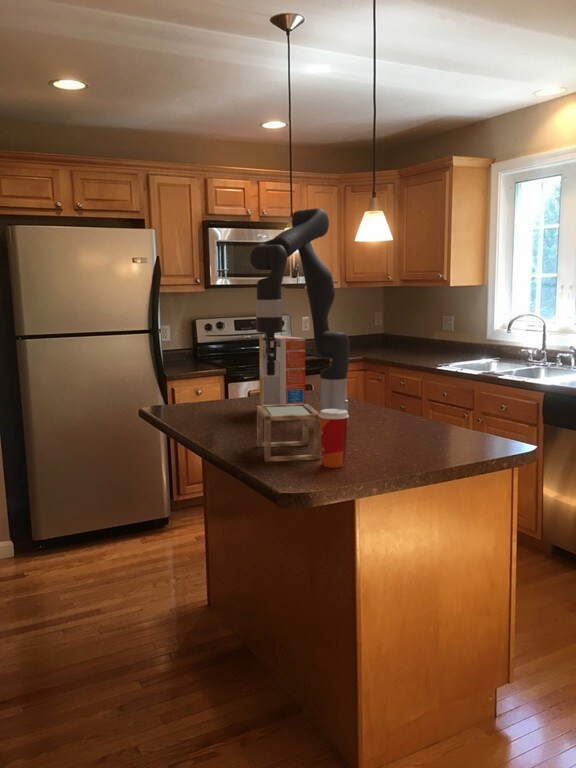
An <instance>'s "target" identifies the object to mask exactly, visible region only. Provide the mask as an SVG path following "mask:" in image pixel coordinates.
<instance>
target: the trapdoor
mask: <svg viewBox="0 0 576 768" xmlns="http://www.w3.org/2000/svg"><path fill="white" fill-rule="evenodd" d="M266 411H267V412H268V414H269V415H297V414H310V413H309V412H308V411H307V410H306V409H305V408H304V407H303V406H290V407H266Z"/></svg>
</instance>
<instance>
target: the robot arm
mask: <svg viewBox="0 0 576 768" xmlns="http://www.w3.org/2000/svg"><path fill="white" fill-rule="evenodd" d="M291 216H292V217H291V227H290V228H288V229H286V230H283V231H282V232H280V233H279V234H277V235H276V236H275V237H273V238H271V239H268V240H266V241H263V242H261V243H258V244H257V245H255V246H253V249H251V252H250V254H249V261H250V265H251V266H252V267H253V268H254V269H255V270H258V271H270V273H269V275H268V276H267V277H264V278H261V279H259V280H258V281H257V282H256V307H255V311H256V312H255V314H256V315H255V318H256V320H255V325H256V327H255V328H256V332H258V333H264V338H262V344H263V356H264V358H266V361H267V375H275V361H276V353H277V349H276V344H277V339H276V338H275V335H276V333H282V331H283V304H282V303H283V302H282V285H283V284H282V283H283V279H284V275H285V271H286V268H287V262H288V258H289V257H291V256H292V255H293V254H294V253H295V252H297V251H298V253H299V258H300V262H301V267H302V271H303V277H304V283H305V288H306V289H305V290H306V294H307V298H308V302H309V307H310V314H311V320H312V326H313V327H312V328H313V339H314V347H315V350H316V353H317V354H318V356H319V357H321V358H324V359H332V360H331V364H330V366H328V367H325V368H323V369H321V370H320V373H319V374H320V375H319V376H320V378H319V381H320V382H319V383H320V385H319V387H320V389H319V390H320V391H319V395H320V396H319V399H320V400H319V412H320V411H321V410H324V409H338V410H339V409H342V410H346V411H347V412H348V413H349V400H348V399H347V396H348V394H347V393H348V392H347V388H348V385H347V384H348V382H347V379H348V371H349V366H350V351H351V350H350V349H351V348H350V347H351V345H350V344H351V343H350V339H349V336H348V335H347V333H345V332H341V331H330V328H329V322H328V321H329V320H328V319H329V313H330V310H331V308H332V306H333V303H334V300H335V296H336V295H335V294H336V292H335V291H336V290H335V285H334V279H333V275H332V273H331V271H330V269H329V268H328V267H327V266H326V265H325V263H324V262H323V261H322V259H320V257H318V255H317V253H316V252H315V249H314V248H313V245H312V241H314V240H317V239H319V238H321V237H324V236H326V235H327V233H328V231H329V227H330V220H329V216H328V213H327V212H326V211H325V210H324V209H322V208H317V207H316V208H309V209H302V210H297V211H295V212H293V214H292V215H291ZM348 425H349V421H348V422H347V428H349V426H348Z"/></svg>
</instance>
